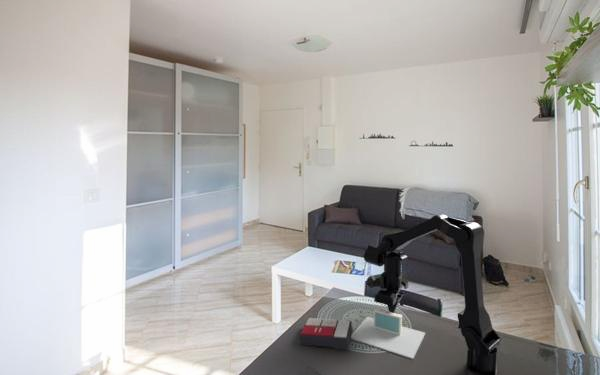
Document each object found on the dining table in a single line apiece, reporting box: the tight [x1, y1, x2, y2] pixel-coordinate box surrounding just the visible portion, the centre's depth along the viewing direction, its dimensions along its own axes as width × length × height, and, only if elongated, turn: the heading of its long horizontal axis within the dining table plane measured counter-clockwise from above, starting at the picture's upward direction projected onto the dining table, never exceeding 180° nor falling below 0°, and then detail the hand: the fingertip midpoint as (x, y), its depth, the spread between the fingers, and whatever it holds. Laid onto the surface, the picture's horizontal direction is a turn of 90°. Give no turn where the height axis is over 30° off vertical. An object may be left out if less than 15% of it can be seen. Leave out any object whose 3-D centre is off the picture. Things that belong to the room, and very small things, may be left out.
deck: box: [373, 308, 403, 335], centre depth 107 cm, size 9×2×6 cm, turn 57°
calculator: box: [299, 317, 353, 351], centre depth 103 cm, size 11×4×15 cm
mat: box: [351, 316, 426, 360], centre depth 104 cm, size 20×16×1 cm
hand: (391, 314), depth 110 cm, fingers closed
